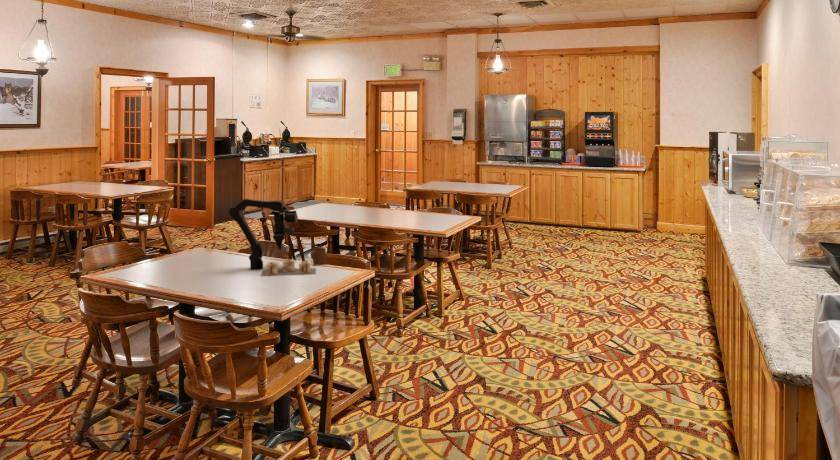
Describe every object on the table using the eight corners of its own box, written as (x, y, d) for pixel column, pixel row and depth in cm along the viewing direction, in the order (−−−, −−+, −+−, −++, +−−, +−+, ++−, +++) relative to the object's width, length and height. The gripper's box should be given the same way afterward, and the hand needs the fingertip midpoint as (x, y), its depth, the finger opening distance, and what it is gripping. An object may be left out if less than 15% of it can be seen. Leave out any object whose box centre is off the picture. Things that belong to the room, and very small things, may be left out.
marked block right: (299, 274, 339) (298, 263, 338) (299, 271, 345) (299, 260, 344) (310, 273, 340) (309, 262, 339) (310, 271, 346) (310, 260, 345)
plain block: (283, 272, 343) (282, 261, 342) (283, 269, 349) (283, 259, 348) (294, 271, 344) (293, 261, 343) (294, 269, 350) (294, 259, 349)
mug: (316, 267, 358) (316, 251, 357) (306, 266, 361) (305, 250, 360) (328, 263, 369) (328, 248, 367) (318, 262, 372) (317, 247, 371)
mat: (260, 277, 334) (260, 276, 334) (262, 271, 349) (262, 269, 349) (315, 275, 339) (315, 274, 338) (315, 269, 354) (315, 268, 354)
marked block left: (266, 275, 336) (265, 264, 335) (267, 272, 342) (266, 262, 341) (277, 274, 337) (276, 263, 336) (277, 272, 343) (277, 261, 342)
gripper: (292, 224, 341) (293, 251, 343) (294, 219, 359) (294, 245, 361) (272, 224, 339) (273, 252, 341) (274, 220, 357) (275, 246, 360)
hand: (280, 249), depth 351 cm, fingers closed
